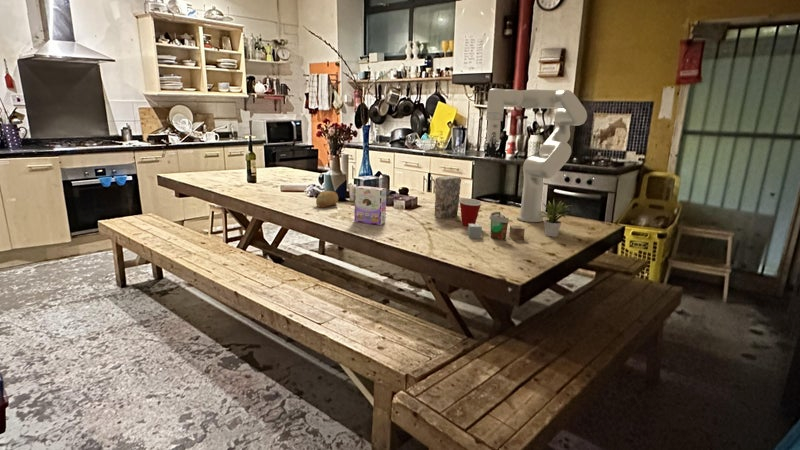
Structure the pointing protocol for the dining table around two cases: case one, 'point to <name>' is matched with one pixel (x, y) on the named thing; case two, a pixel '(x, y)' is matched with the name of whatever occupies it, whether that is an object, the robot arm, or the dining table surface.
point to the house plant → (553, 218)
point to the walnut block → (516, 232)
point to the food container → (498, 226)
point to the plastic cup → (469, 210)
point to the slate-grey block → (474, 230)
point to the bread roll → (326, 199)
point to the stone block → (447, 196)
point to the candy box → (370, 205)
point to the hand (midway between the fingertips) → (490, 155)
